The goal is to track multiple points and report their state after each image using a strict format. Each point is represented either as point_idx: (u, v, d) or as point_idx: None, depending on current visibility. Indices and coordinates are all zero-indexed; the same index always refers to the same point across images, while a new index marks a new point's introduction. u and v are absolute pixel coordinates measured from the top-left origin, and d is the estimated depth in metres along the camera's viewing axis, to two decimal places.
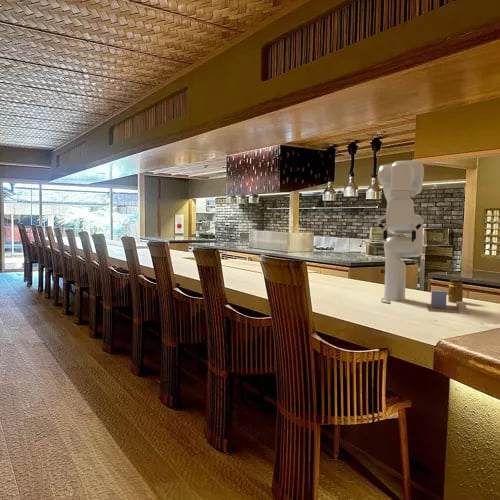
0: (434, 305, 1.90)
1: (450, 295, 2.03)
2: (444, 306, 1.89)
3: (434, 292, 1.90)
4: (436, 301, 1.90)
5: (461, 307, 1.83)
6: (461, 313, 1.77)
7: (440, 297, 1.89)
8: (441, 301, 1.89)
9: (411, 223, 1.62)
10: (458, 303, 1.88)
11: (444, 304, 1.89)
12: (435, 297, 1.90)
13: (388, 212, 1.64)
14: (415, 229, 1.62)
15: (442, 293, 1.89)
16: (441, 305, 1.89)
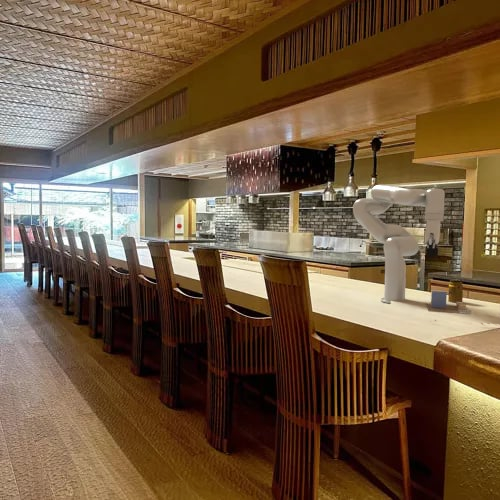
0: (434, 305, 1.90)
1: (450, 295, 2.03)
2: (444, 306, 1.89)
3: (434, 292, 1.90)
4: (436, 301, 1.90)
5: (461, 307, 1.83)
6: (461, 313, 1.77)
7: (440, 297, 1.89)
8: (441, 301, 1.89)
9: None
10: (458, 303, 1.88)
11: (444, 304, 1.89)
12: (435, 297, 1.90)
13: (437, 232, 1.85)
14: None
15: (442, 293, 1.89)
16: (441, 305, 1.89)
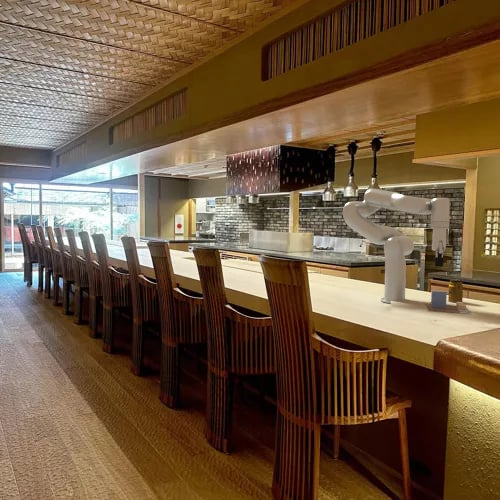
0: (434, 305, 1.90)
1: (450, 295, 2.03)
2: (444, 306, 1.89)
3: (434, 292, 1.90)
4: (436, 301, 1.90)
5: (461, 307, 1.83)
6: (461, 313, 1.77)
7: (440, 297, 1.89)
8: (441, 301, 1.89)
9: None
10: (458, 303, 1.88)
11: (444, 304, 1.89)
12: (435, 297, 1.90)
13: (445, 239, 1.90)
14: None
15: (442, 293, 1.89)
16: (441, 305, 1.89)
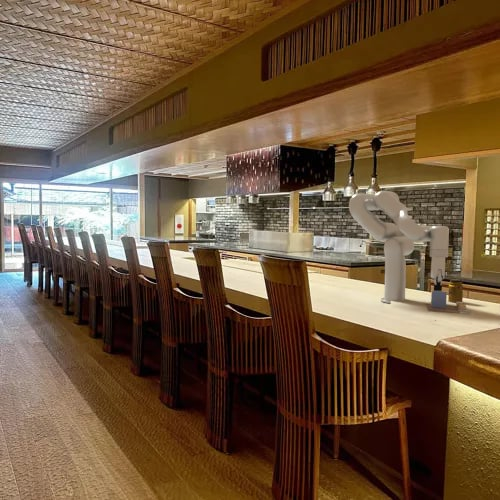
0: (434, 305, 1.90)
1: (450, 295, 2.03)
2: (444, 306, 1.89)
3: (434, 292, 1.90)
4: (436, 301, 1.90)
5: (461, 307, 1.83)
6: (461, 313, 1.77)
7: (440, 297, 1.89)
8: (441, 301, 1.89)
9: None
10: (458, 303, 1.88)
11: (444, 304, 1.89)
12: (435, 297, 1.90)
13: (444, 268, 1.90)
14: None
15: (442, 293, 1.89)
16: (441, 305, 1.89)
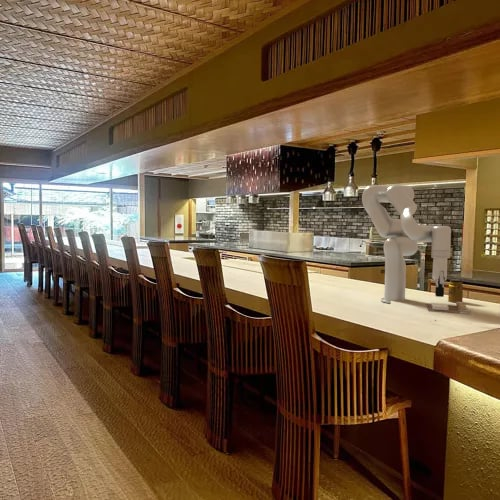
0: None
1: (450, 295, 2.03)
2: None
3: (435, 309, 1.84)
4: None
5: (461, 307, 1.83)
6: (461, 313, 1.77)
7: None
8: None
9: None
10: (458, 303, 1.88)
11: None
12: None
13: (446, 269, 1.84)
14: None
15: None
16: None
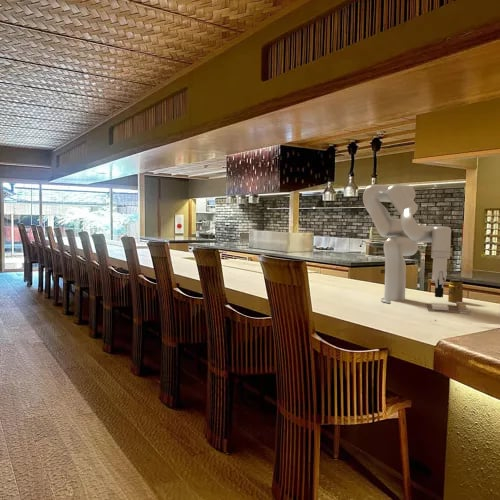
0: None
1: (450, 295, 2.03)
2: None
3: (435, 309, 1.84)
4: None
5: (461, 307, 1.83)
6: (461, 313, 1.77)
7: None
8: None
9: None
10: (458, 303, 1.88)
11: None
12: None
13: (446, 270, 1.84)
14: None
15: None
16: None
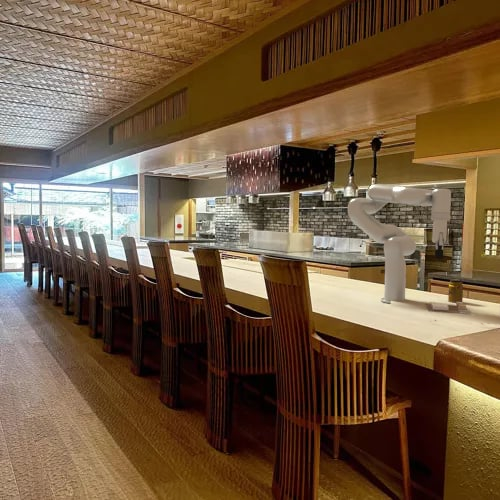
0: None
1: (450, 295, 2.03)
2: None
3: (435, 309, 1.84)
4: None
5: (461, 307, 1.83)
6: (461, 313, 1.77)
7: None
8: None
9: None
10: (458, 303, 1.88)
11: None
12: None
13: (446, 231, 1.87)
14: None
15: None
16: None
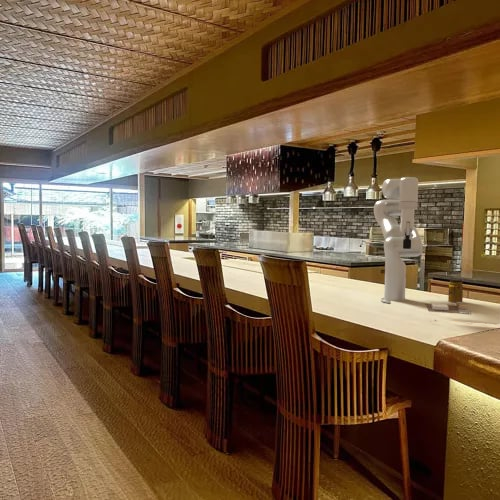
0: None
1: (450, 295, 2.03)
2: None
3: (435, 309, 1.84)
4: None
5: (461, 307, 1.83)
6: (461, 313, 1.77)
7: None
8: None
9: None
10: (458, 303, 1.88)
11: None
12: None
13: (413, 220, 1.83)
14: None
15: None
16: None
